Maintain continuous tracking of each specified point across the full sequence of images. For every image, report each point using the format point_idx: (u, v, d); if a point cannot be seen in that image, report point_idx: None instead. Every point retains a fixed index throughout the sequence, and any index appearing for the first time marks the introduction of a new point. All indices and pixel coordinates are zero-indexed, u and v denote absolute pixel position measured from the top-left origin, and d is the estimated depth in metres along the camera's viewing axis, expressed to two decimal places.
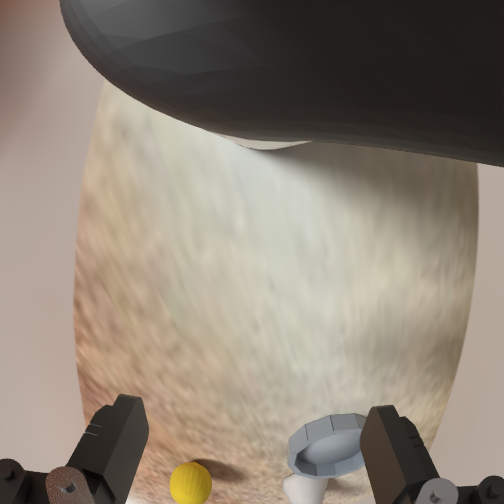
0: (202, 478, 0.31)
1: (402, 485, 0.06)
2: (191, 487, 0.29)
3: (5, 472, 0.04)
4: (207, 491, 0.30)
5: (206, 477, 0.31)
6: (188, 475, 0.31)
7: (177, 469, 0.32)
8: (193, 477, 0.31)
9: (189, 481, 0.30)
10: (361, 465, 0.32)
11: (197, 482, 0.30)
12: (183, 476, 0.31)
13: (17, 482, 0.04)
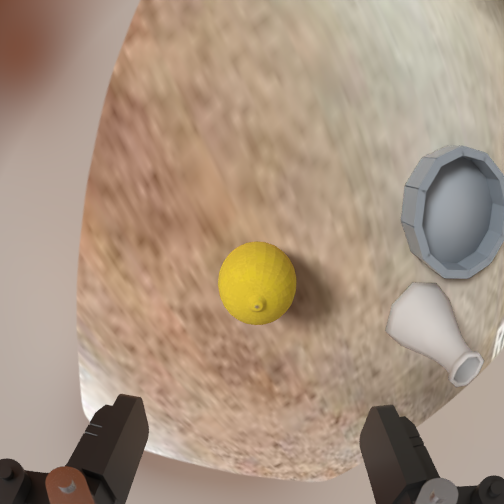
0: (283, 253, 0.22)
1: (402, 485, 0.06)
2: (267, 257, 0.20)
3: (5, 472, 0.04)
4: (294, 278, 0.21)
5: None
6: (259, 244, 0.21)
7: None
8: (268, 247, 0.21)
9: (262, 250, 0.21)
10: (493, 250, 0.23)
11: (277, 253, 0.21)
12: (250, 245, 0.21)
13: (17, 482, 0.04)
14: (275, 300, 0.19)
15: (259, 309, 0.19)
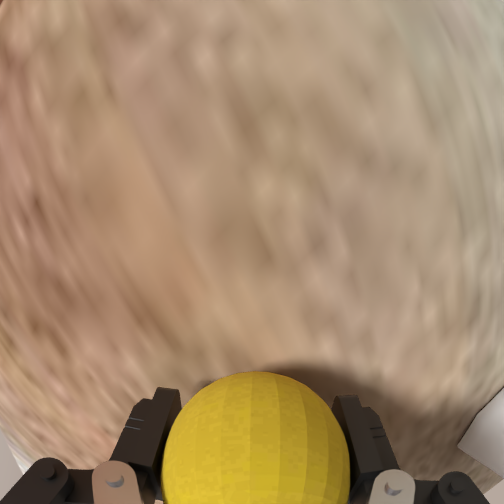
0: (325, 419, 0.07)
1: (357, 474, 0.06)
2: (287, 474, 0.05)
3: (47, 472, 0.05)
4: (348, 483, 0.06)
5: (334, 420, 0.08)
6: (261, 410, 0.07)
7: (199, 396, 0.08)
8: (288, 417, 0.07)
9: (271, 440, 0.06)
10: None
11: (312, 441, 0.06)
12: (236, 416, 0.07)
13: (60, 481, 0.05)
14: None
15: None
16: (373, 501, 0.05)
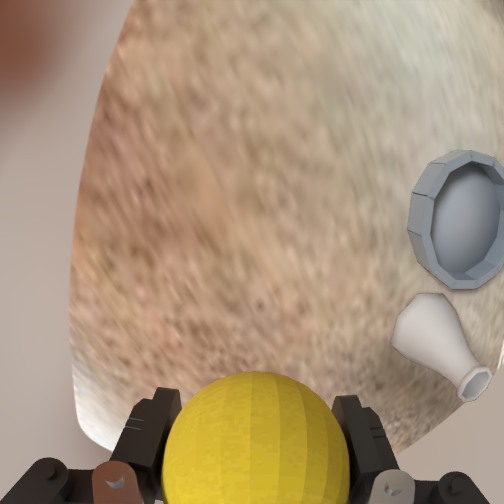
0: (325, 419, 0.07)
1: (358, 474, 0.06)
2: (287, 473, 0.05)
3: (47, 472, 0.05)
4: (348, 483, 0.06)
5: (334, 420, 0.08)
6: (261, 410, 0.07)
7: (199, 396, 0.08)
8: (287, 417, 0.07)
9: (271, 439, 0.06)
10: (502, 259, 0.21)
11: (311, 441, 0.06)
12: (236, 416, 0.07)
13: (61, 481, 0.05)
14: None
15: None
16: (373, 501, 0.05)
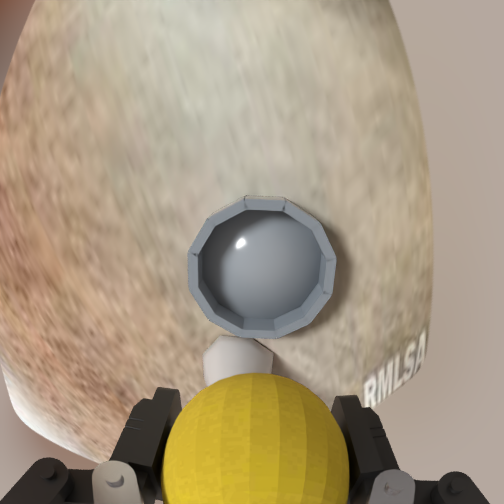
0: (325, 421, 0.07)
1: (357, 474, 0.06)
2: (287, 475, 0.05)
3: (47, 472, 0.05)
4: (347, 484, 0.06)
5: (334, 421, 0.08)
6: (260, 411, 0.07)
7: (199, 398, 0.08)
8: (287, 419, 0.07)
9: (271, 441, 0.06)
10: (312, 310, 0.25)
11: (311, 442, 0.06)
12: (236, 417, 0.07)
13: (61, 481, 0.05)
14: None
15: None
16: (373, 501, 0.05)
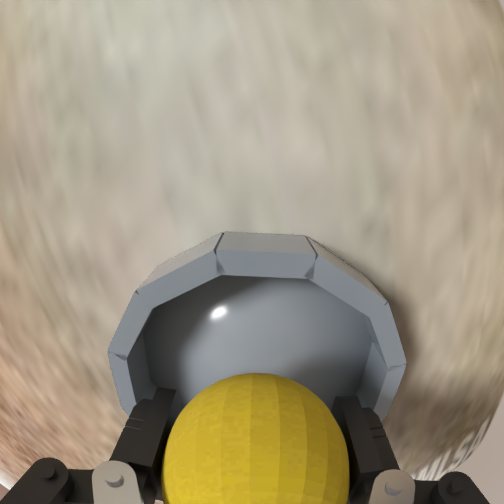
0: (325, 421, 0.07)
1: (357, 474, 0.06)
2: (286, 475, 0.05)
3: (46, 472, 0.05)
4: (348, 484, 0.06)
5: (334, 421, 0.08)
6: (260, 411, 0.07)
7: (199, 398, 0.08)
8: (287, 419, 0.07)
9: (271, 441, 0.06)
10: None
11: (311, 442, 0.06)
12: (236, 417, 0.07)
13: (61, 481, 0.05)
14: None
15: None
16: (373, 501, 0.05)
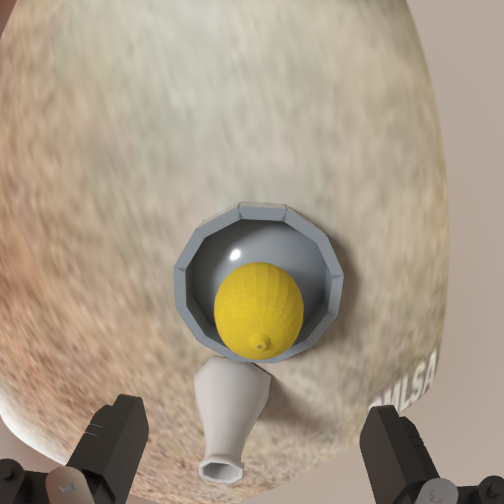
0: (288, 276, 0.19)
1: (402, 485, 0.06)
2: (270, 286, 0.17)
3: (5, 472, 0.04)
4: (301, 307, 0.18)
5: (293, 280, 0.19)
6: (259, 268, 0.18)
7: (231, 272, 0.20)
8: (270, 271, 0.18)
9: (264, 276, 0.17)
10: (315, 332, 0.22)
11: (280, 279, 0.18)
12: (249, 270, 0.18)
13: (17, 482, 0.04)
14: (280, 337, 0.16)
15: (262, 349, 0.16)
16: None
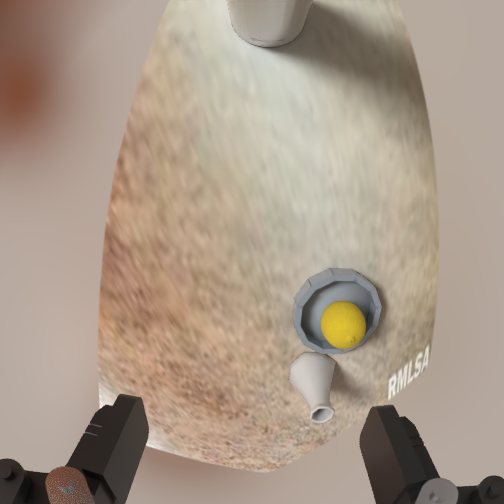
0: (357, 307, 0.36)
1: (402, 485, 0.06)
2: (353, 313, 0.34)
3: (5, 472, 0.04)
4: None
5: (359, 309, 0.37)
6: (345, 304, 0.36)
7: (328, 306, 0.37)
8: (350, 305, 0.36)
9: (348, 308, 0.35)
10: (365, 336, 0.39)
11: (356, 309, 0.35)
12: (340, 306, 0.36)
13: (17, 482, 0.04)
14: (359, 336, 0.34)
15: (352, 342, 0.33)
16: None
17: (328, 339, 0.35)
